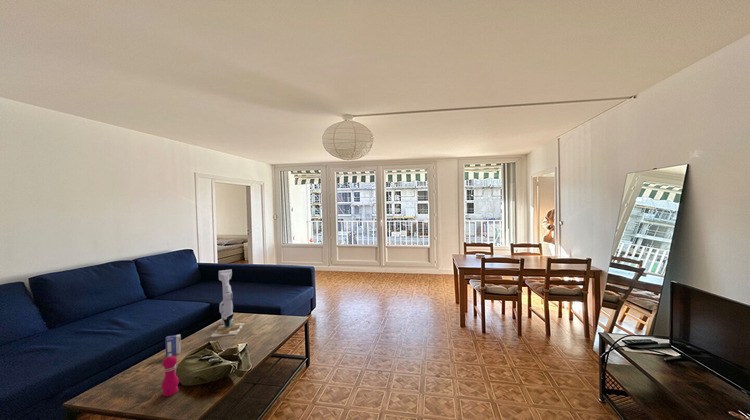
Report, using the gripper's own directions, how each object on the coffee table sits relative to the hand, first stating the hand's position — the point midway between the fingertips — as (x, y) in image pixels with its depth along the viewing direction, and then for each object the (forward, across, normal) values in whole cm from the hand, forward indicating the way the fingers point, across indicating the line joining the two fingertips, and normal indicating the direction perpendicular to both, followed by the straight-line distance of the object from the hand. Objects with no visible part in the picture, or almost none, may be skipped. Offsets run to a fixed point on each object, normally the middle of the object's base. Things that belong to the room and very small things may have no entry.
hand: (228, 325), depth 218 cm
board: (+4, 0, 0) cm, 4 cm away
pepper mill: (+4, +75, -4) cm, 75 cm away
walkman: (+4, +31, -24) cm, 39 cm away
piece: (+2, 0, 0) cm, 2 cm away
